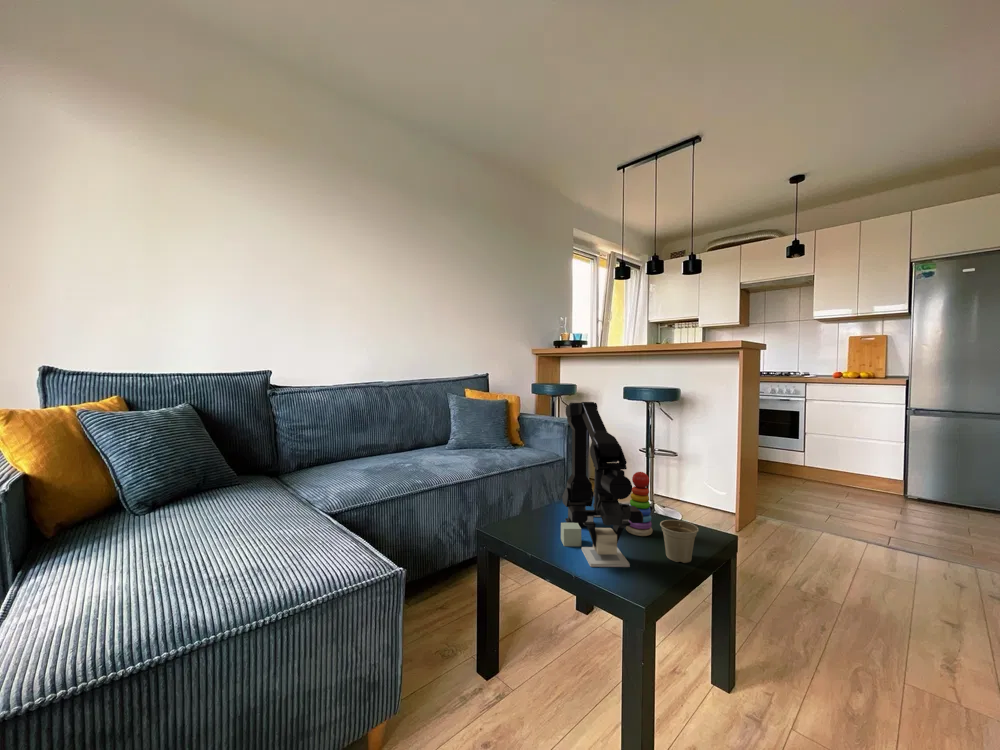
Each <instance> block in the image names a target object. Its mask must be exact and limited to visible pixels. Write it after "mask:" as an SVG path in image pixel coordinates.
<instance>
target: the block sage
mask: <svg viewBox="0 0 1000 750" xmlns="http://www.w3.org/2000/svg"><path fill="white" fill-rule="evenodd" d="M560 541H561V543H562V544H563V545H562V546H563V547H582V527H580V526H579V524H578V523H567V522H560Z"/></svg>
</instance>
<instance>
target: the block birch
mask: <svg viewBox="0 0 1000 750" xmlns="http://www.w3.org/2000/svg"><path fill="white" fill-rule="evenodd" d="M595 533H596V547H594V545H593V544H592V547H594V549H595V551H596V552H597V554H617V548H618V543H617V534H616V533H615V532H614V531H613V527H612V528H611V527H595Z"/></svg>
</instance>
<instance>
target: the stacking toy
mask: <svg viewBox="0 0 1000 750" xmlns="http://www.w3.org/2000/svg"><path fill="white" fill-rule="evenodd" d="M631 478H632V481H631V482H632V484H633V485H634V486H632V491H631V494H630V501H629V506H635V507H636V508H637V509H639V510H640V511H641V512H642V513H643V523H632V522H631V521H630V520H629V522H630V523H631V525H630V526H627V527H625V530H626V531H627V532H628V533H629V534H631V535H634V536H639V537H647V536H650V535H652V534H653V531H654V530H653V528H652V524H653V523H652V515H651V513H652V511H651V508H650V507H651V503H650V496H649V493H650V490H649V488H648V486H649V485H650V477H649V476H648V474H647V473H646V472H643V471H636V472H635V473H634V474H633V475H632V477H631Z"/></svg>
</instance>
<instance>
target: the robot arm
mask: <svg viewBox="0 0 1000 750" xmlns="http://www.w3.org/2000/svg"><path fill="white" fill-rule="evenodd" d="M565 416H566V422H567V423H568V425H569V427H570V428H571V475H570V476H569V477H568V479H567V480H566V487H565V489H564V492H563V493H562V497H561V498H562V504H563V505H564V506H565V507H566V508H567V517H565V518H564V521H565V523H578V524H579V526H580V527H581V528H584V527H585V528H587V529H588V532H589V535H590V539H591V542H592V546H593V545H594V547H596V533H595V528H597V527H596V526H597V523H596V522H595V521H594V518H595V519H596V518H597V519H599V518H601V521H602V524H603V525H604V526H612V529H613V531H614V532H615V533H616V534H617V544H618V543H619V540H620V538H621V535H622V533H623V531H624V530H625V529H626V527H627V526H630V525H631V523H630V522H629V520H630V521H631V522H632V523H643V513H642V512H641V511H640V510H639V509H637V508H636V507H635V506H630V503H628V504H627V503H625V504H621V503H620V502H619V500H625V499H627V498H628V497H629V496H631V494H632V488H633V485H632V484H633V483H632V481H631V480H630V479H629V478H628V477H627V476H626V475H625V471H624V470H627V468H628V467H627V460H626V456H625V453H624V450H623V449H622V446H621V445H620V443H619V441H618V440H617V438H616V437H615V436H614V435H612V434H611V433H609V432H608V431H607V428H606V425H605V424H604V422H603V420H602V417H601V415H600V412H599V410H598V404H597V403H596V402H594V401H581V402H570V403H569V404H568V405H566V407H565ZM587 432H588V435H589V437H590V440H591V444H590V447H589V453H590V457H591V461H592V463H593V467H594V483H593V484H594V488H593V484H592V482H591V481H590V480H589V478H588V476H587V456H588V455H587V452H588V451H587V449H588V447H587V444H588V443H587V442H588V440H587V439H588V437H587ZM593 500H594V501H593ZM592 506H593V507H592ZM587 507H592V508H593V509H587Z"/></svg>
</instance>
